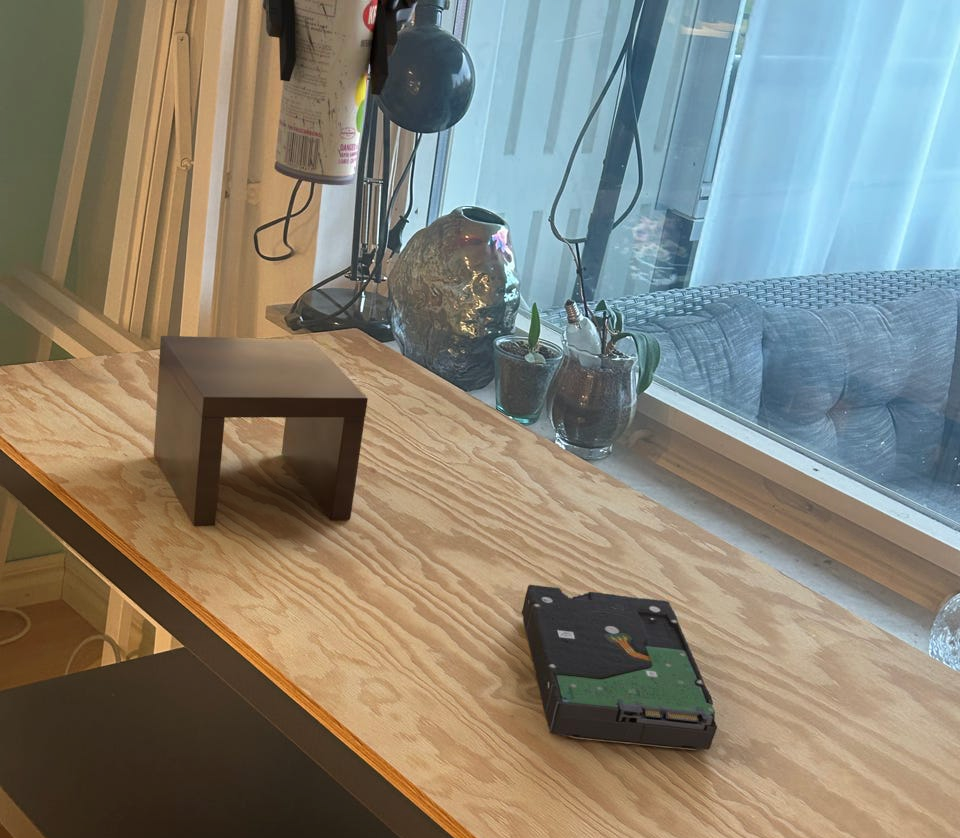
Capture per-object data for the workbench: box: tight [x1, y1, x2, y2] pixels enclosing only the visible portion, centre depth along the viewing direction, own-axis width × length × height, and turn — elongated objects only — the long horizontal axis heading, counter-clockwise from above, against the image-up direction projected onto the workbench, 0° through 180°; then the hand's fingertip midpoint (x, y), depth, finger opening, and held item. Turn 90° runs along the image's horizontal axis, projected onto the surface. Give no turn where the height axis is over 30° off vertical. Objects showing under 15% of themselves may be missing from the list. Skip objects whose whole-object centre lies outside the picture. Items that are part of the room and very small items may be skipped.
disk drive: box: [521, 584, 718, 751], centre depth 86 cm, size 10×3×15 cm
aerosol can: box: [274, 0, 378, 186], centre depth 109 cm, size 7×7×20 cm
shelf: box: [153, 335, 369, 527], centre depth 99 cm, size 12×12×10 cm
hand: (334, 77), depth 107 cm, fingers closed on aerosol can, 7 cm apart
